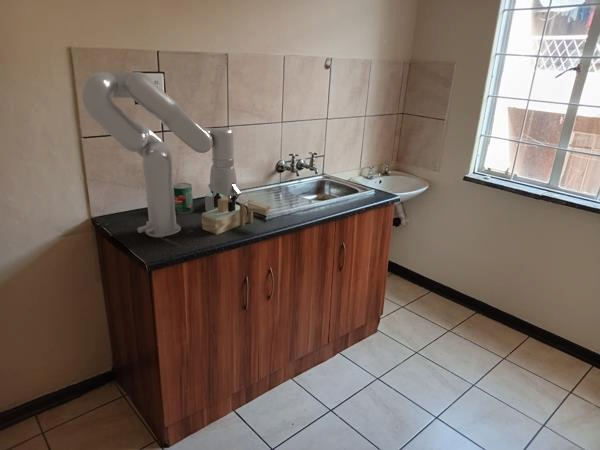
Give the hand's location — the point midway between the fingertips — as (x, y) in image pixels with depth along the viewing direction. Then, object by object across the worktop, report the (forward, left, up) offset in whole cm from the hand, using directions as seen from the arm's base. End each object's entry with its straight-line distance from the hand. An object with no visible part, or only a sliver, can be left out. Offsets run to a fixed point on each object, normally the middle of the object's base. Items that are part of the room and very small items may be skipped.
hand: (224, 208), depth 169 cm
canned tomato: (+2, +27, -8) cm, 28 cm away
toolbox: (0, 0, -8) cm, 8 cm away
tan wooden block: (+7, -11, 0) cm, 13 cm away
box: (+14, +18, -8) cm, 24 cm away
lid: (0, 0, -2) cm, 2 cm away
